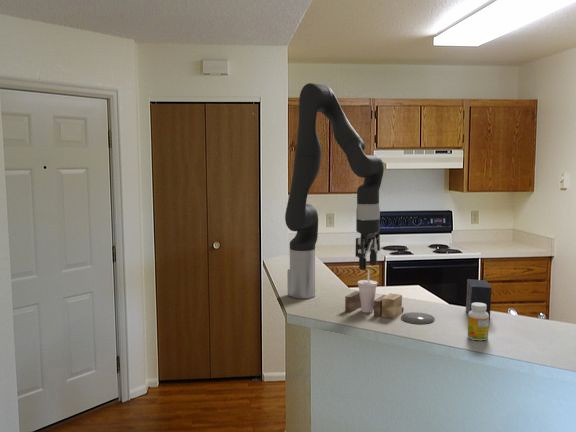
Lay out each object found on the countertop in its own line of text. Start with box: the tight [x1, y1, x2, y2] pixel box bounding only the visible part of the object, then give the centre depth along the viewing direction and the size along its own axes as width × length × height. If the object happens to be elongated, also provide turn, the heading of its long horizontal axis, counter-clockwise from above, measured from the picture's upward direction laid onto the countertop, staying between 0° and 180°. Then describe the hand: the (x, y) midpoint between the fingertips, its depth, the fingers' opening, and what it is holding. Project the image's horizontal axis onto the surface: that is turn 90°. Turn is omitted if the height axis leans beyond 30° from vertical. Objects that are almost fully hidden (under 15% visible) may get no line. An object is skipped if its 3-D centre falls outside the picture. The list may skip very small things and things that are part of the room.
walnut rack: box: [344, 290, 405, 319], centre depth 175 cm, size 16×9×6 cm, turn 58°
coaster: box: [401, 311, 435, 325], centre depth 168 cm, size 10×10×1 cm
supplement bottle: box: [467, 302, 490, 341], centre depth 149 cm, size 5×5×10 cm
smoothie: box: [357, 268, 378, 314], centre depth 176 cm, size 6×6×14 cm
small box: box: [465, 278, 492, 321], centre depth 171 cm, size 11×6×10 cm, turn 168°
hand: (368, 267), depth 175 cm, fingers open, 8 cm apart
